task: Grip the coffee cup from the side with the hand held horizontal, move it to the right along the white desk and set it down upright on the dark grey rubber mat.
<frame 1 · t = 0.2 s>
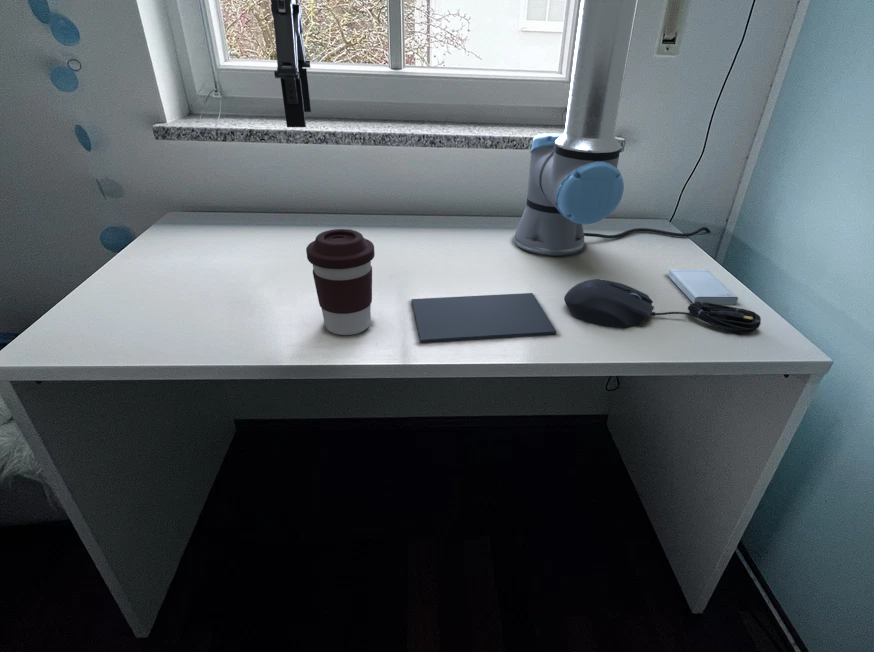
hand: (299, 119, 88), 28 cm above the table, tool pointing down, fingers open, 13 cm apart
computer mouse: (656, 319, 94), on the table
coffee cup: (348, 326, 89), on the table
mat: (480, 317, 92), on the table
hard drive: (699, 290, 104), on the table
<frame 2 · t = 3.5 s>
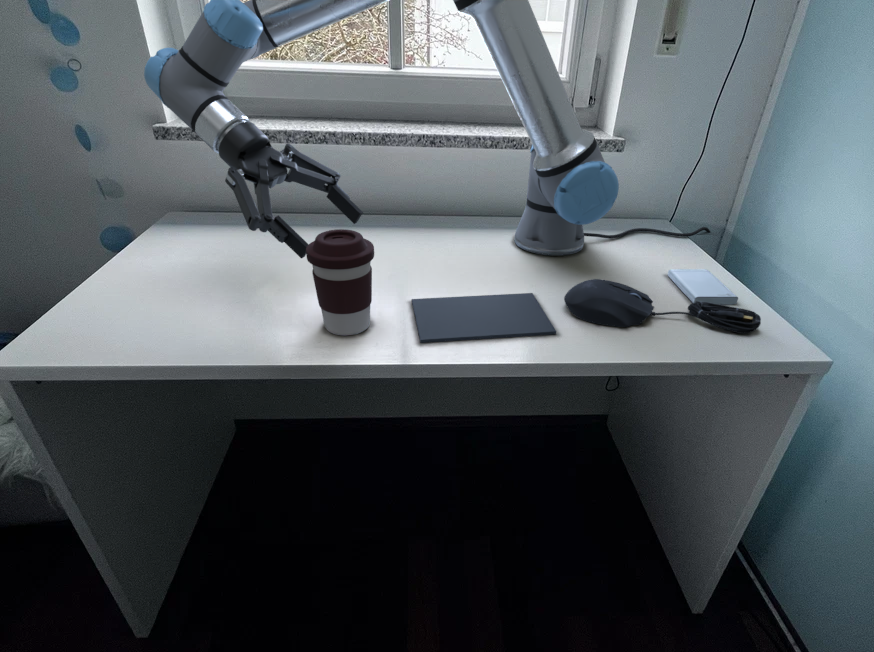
hand: (334, 234, 88), 12 cm above the table, tool tilted 55°, fingers open, 13 cm apart
coffee cup: (347, 326, 89), on the table, touching gripper
everything else where it was.
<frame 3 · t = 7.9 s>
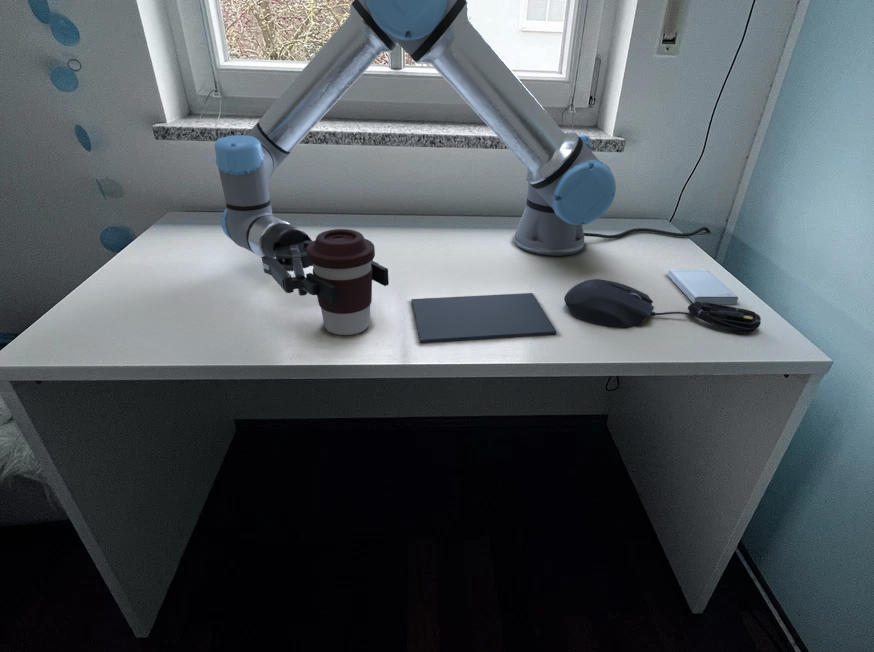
hand: (361, 286, 81), 9 cm above the table, tool horizontal, fingers closed on coffee cup, 9 cm apart
coffee cup: (347, 326, 88), on the table, touching gripper
everything else where it was.
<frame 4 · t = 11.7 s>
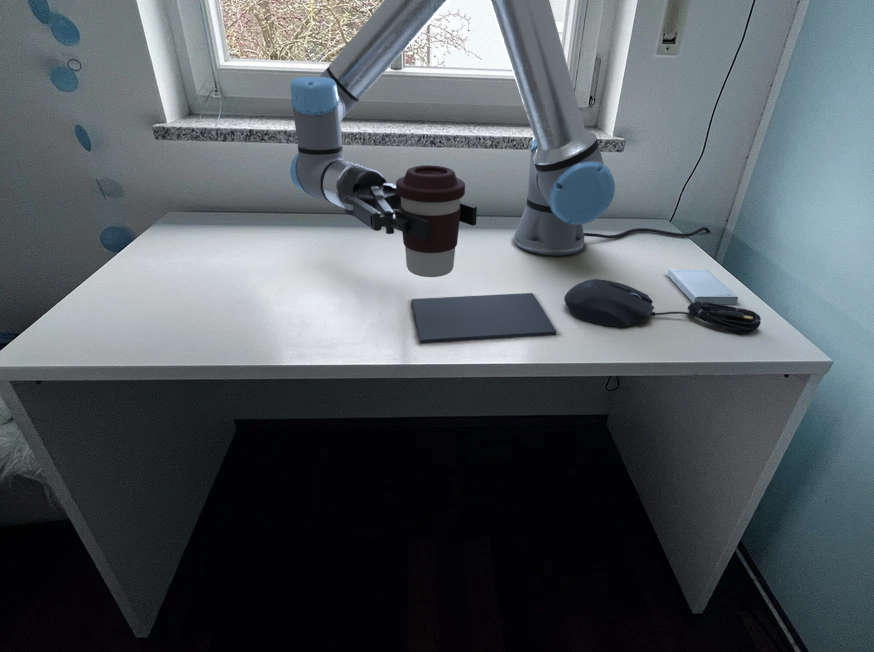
hand: (452, 223, 78), 18 cm above the table, tool horizontal, fingers closed on coffee cup, 9 cm apart
coffee cup: (430, 270, 86), point 9 cm above the table, touching gripper
everything else where it was.
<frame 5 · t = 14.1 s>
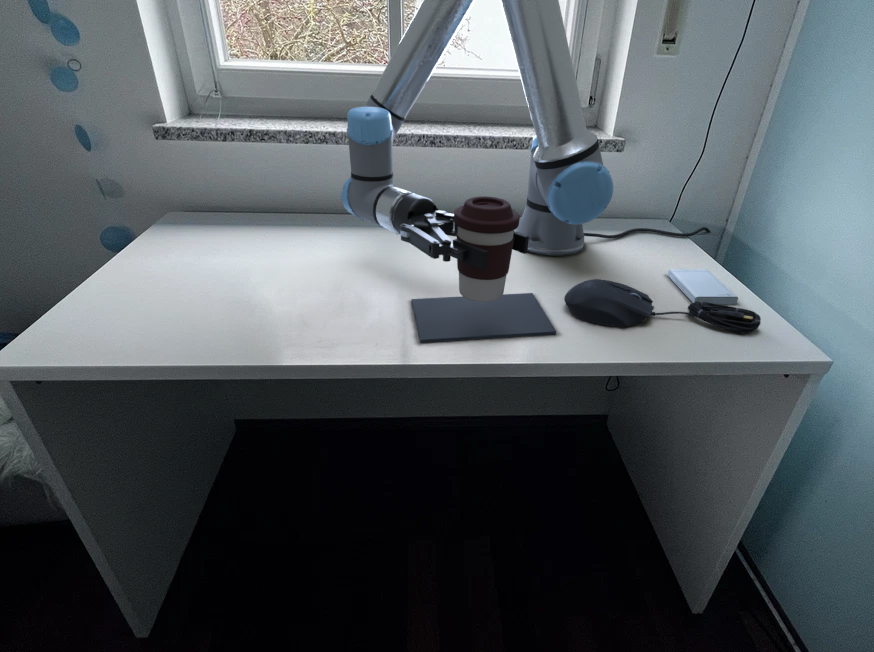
hand: (506, 252, 82), 13 cm above the table, tool horizontal, fingers closed on coffee cup, 9 cm apart
coffee cup: (481, 294, 90), point 4 cm above the table, touching gripper
everything else where it was.
when the fingers open (9 cm above the table, at t = 15.7 s): coffee cup stays where it is, resting on mat.
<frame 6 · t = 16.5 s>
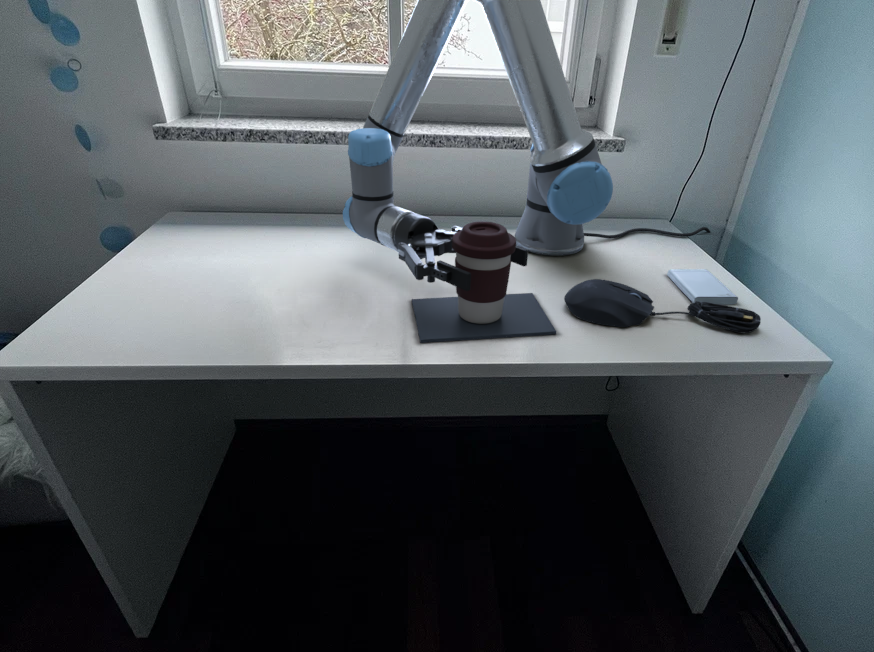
hand: (499, 269, 85), 10 cm above the table, tool horizontal, fingers open, 13 cm apart
coffee cup: (479, 315, 92), resting on mat
everything else where it was.
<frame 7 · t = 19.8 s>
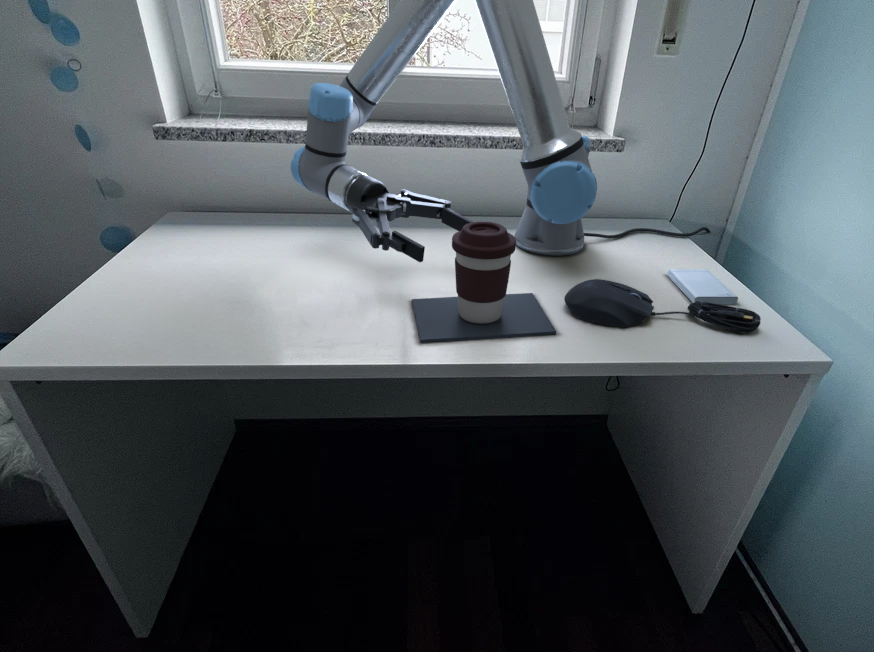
hand: (448, 241, 93), 10 cm above the table, tool horizontal, fingers open, 13 cm apart
nothing on the table moved.
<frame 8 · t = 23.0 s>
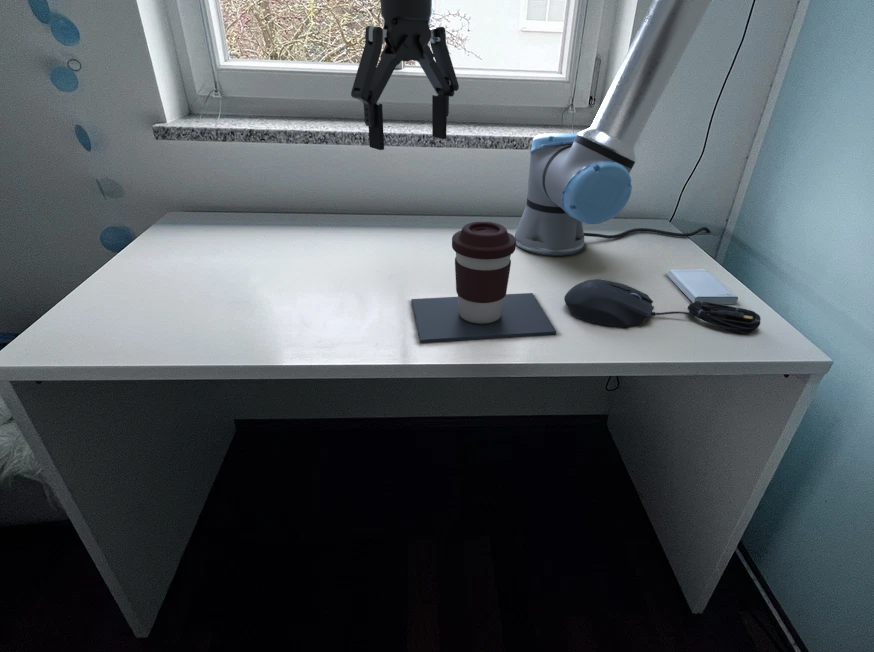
hand: (409, 143, 90), 25 cm above the table, tool pointing down, fingers open, 13 cm apart
nothing on the table moved.
at the end: coffee cup inside the target area on the mat (0.2 cm from its centre), point 0.4 cm above the mat's base; coffee cup tilted 0°; the gripper is holding nothing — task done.
